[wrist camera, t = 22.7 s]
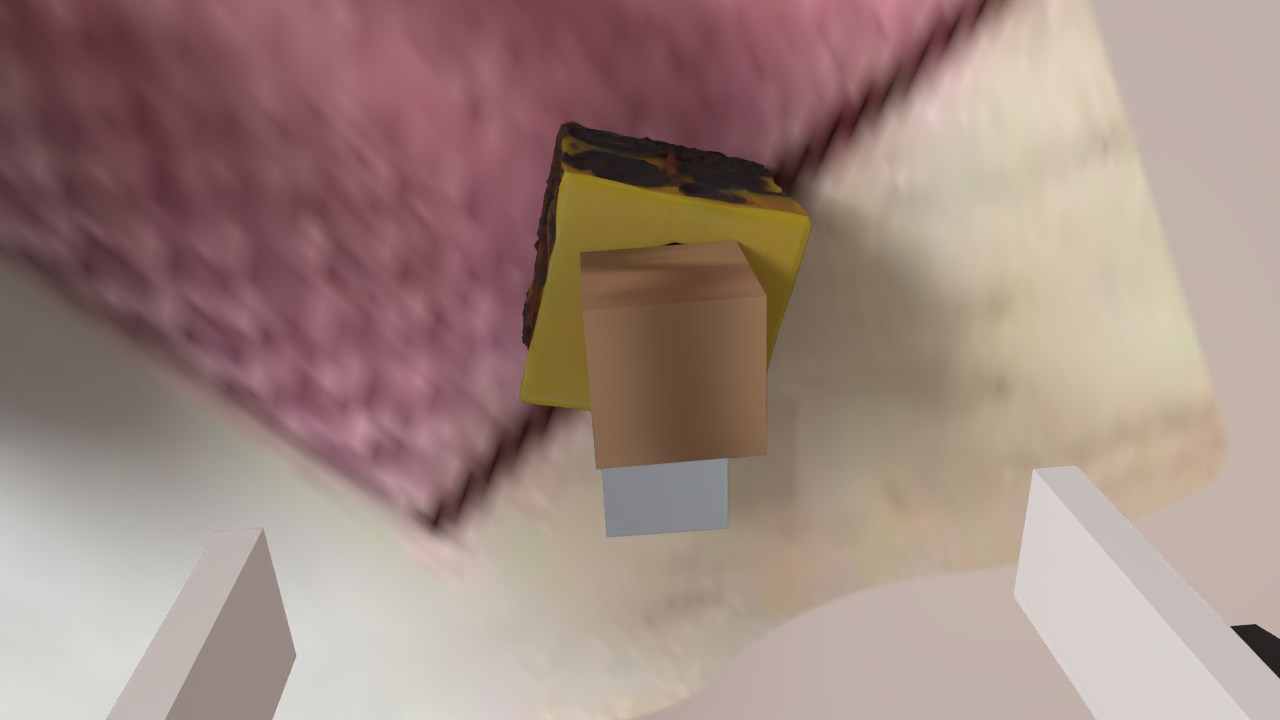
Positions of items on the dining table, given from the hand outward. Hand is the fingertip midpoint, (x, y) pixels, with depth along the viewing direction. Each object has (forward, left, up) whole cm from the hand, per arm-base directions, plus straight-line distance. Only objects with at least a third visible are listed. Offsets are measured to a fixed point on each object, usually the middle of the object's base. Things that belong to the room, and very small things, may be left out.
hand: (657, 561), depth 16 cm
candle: (+2, -4, -31) cm, 31 cm away
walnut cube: (+2, -4, -21) cm, 21 cm away
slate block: (+2, -14, -31) cm, 34 cm away
